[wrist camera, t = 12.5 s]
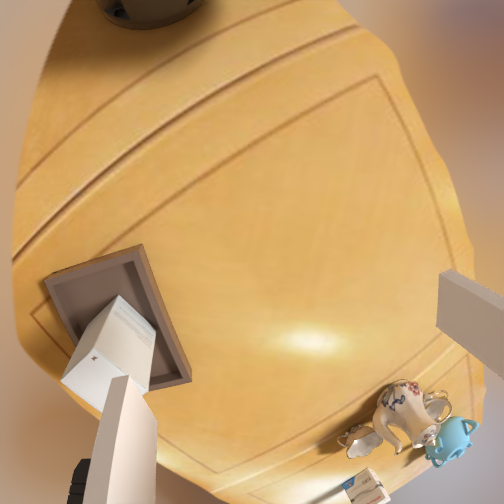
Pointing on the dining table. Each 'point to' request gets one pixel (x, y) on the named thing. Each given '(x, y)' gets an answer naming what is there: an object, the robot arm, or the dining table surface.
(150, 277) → the tray
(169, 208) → the dining table surface
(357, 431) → the chinaware
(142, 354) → the supplement box
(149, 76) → the dining table surface
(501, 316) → the robot arm
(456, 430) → the teapot
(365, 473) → the ink box
